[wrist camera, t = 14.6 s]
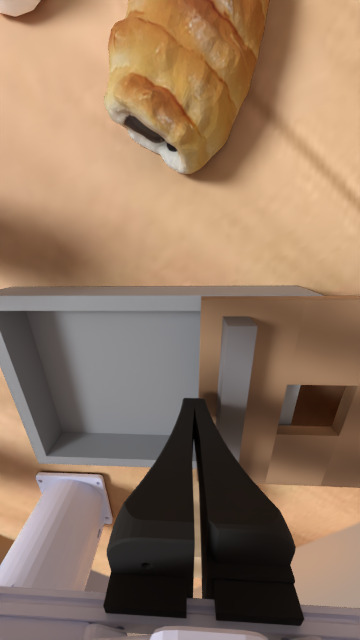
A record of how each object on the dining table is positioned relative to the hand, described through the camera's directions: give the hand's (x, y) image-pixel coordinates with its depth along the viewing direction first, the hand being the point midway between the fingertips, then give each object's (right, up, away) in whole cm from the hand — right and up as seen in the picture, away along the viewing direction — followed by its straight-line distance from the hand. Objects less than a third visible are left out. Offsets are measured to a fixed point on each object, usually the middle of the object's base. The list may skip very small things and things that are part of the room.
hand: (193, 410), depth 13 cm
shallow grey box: (-3, +1, +5) cm, 6 cm away
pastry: (-1, +19, -1) cm, 19 cm away
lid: (+12, 0, +2) cm, 12 cm away
